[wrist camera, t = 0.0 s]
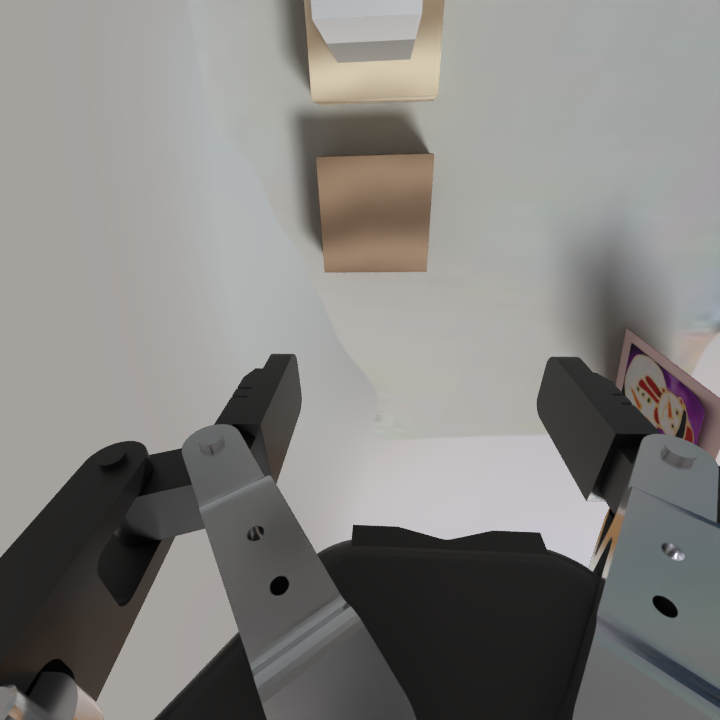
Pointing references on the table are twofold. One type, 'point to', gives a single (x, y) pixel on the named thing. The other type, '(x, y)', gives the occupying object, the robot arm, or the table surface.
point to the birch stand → (378, 67)
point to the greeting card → (668, 395)
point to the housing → (368, 28)
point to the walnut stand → (375, 211)
